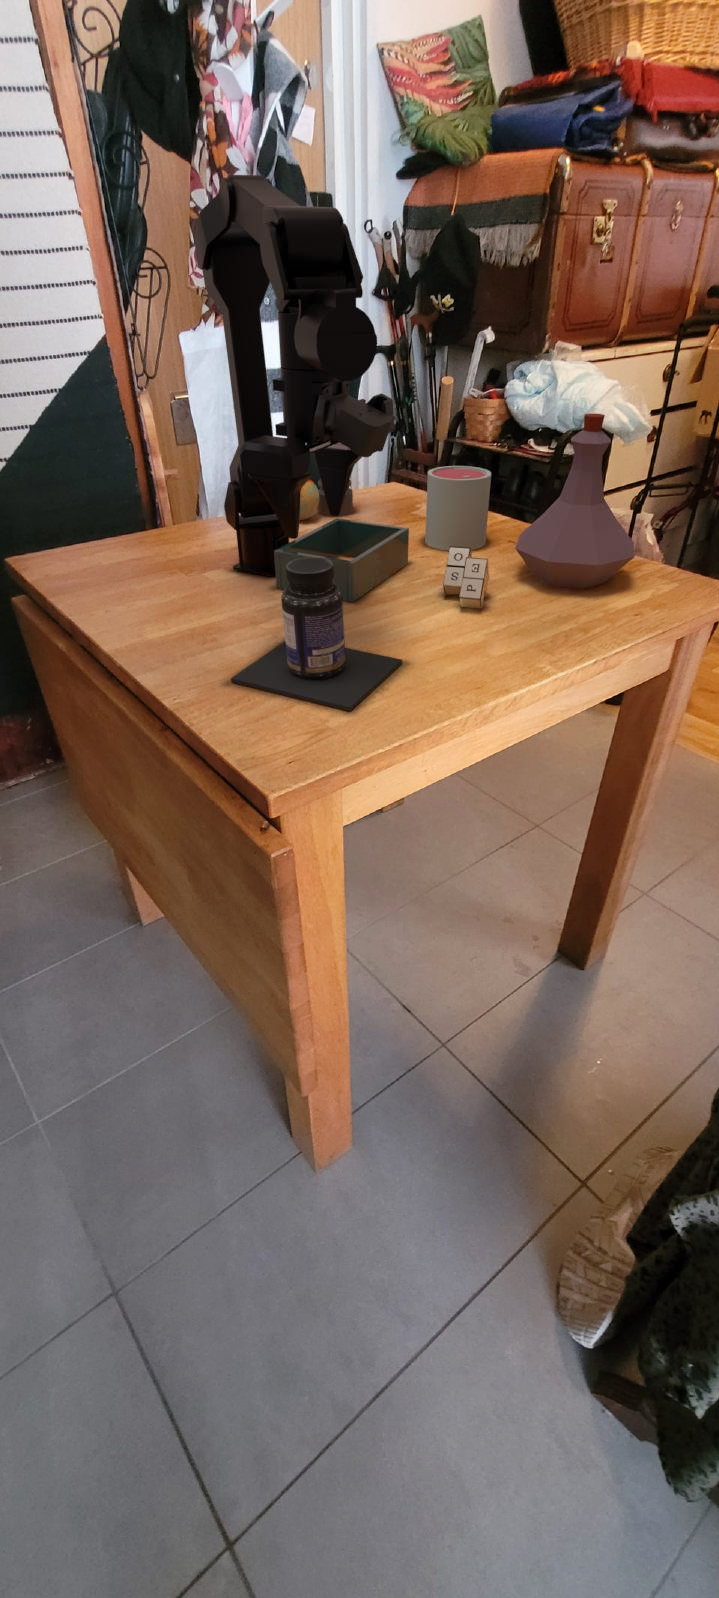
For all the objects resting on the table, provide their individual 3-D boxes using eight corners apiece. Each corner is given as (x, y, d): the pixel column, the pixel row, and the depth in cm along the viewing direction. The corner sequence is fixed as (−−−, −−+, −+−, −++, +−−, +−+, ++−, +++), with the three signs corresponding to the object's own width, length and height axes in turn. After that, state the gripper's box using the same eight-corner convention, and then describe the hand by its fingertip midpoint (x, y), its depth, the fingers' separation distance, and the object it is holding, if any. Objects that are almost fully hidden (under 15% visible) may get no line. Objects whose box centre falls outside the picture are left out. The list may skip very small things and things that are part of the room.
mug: (488, 550, 114) (495, 479, 108) (426, 550, 114) (429, 480, 109) (478, 524, 125) (483, 459, 120) (421, 524, 125) (424, 459, 120)
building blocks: (482, 617, 98) (492, 559, 99) (481, 599, 93) (491, 538, 94) (441, 613, 99) (451, 556, 100) (437, 595, 94) (448, 535, 95)
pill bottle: (353, 658, 82) (350, 557, 76) (333, 684, 78) (328, 578, 71) (300, 651, 84) (293, 551, 78) (278, 676, 79) (267, 572, 73)
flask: (487, 581, 103) (501, 418, 92) (542, 550, 114) (561, 400, 102) (603, 608, 95) (634, 432, 84) (651, 572, 106) (685, 411, 94)
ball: (270, 518, 129) (267, 474, 125) (304, 511, 133) (302, 468, 129) (293, 528, 125) (291, 482, 121) (328, 520, 128) (327, 475, 124)
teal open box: (276, 588, 102) (273, 550, 99) (337, 552, 114) (336, 517, 111) (353, 602, 98) (352, 563, 95) (408, 563, 110) (409, 527, 107)
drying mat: (231, 682, 79) (230, 678, 79) (291, 640, 88) (291, 636, 88) (350, 711, 74) (350, 707, 74) (402, 663, 83) (402, 659, 82)
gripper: (333, 386, 66) (336, 564, 76) (422, 360, 80) (415, 514, 89) (228, 376, 70) (243, 546, 80) (329, 354, 84) (332, 501, 93)
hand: (314, 526), depth 85 cm, fingers open, 9 cm apart
